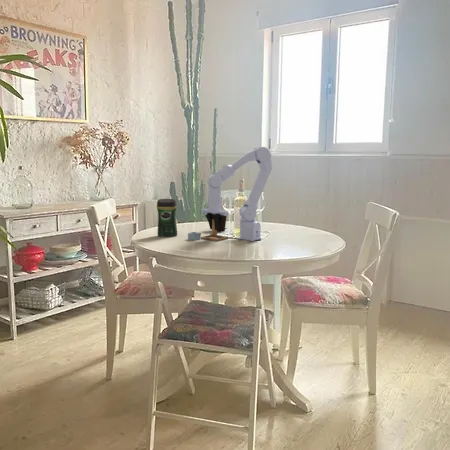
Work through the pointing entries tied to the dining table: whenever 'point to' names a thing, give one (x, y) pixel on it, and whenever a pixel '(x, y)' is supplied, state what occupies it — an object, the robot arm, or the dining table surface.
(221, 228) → the coffee mug
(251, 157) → the robot arm
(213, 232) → the dowel
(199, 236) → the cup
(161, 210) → the coffee jar
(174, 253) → the dining table surface
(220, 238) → the tray
